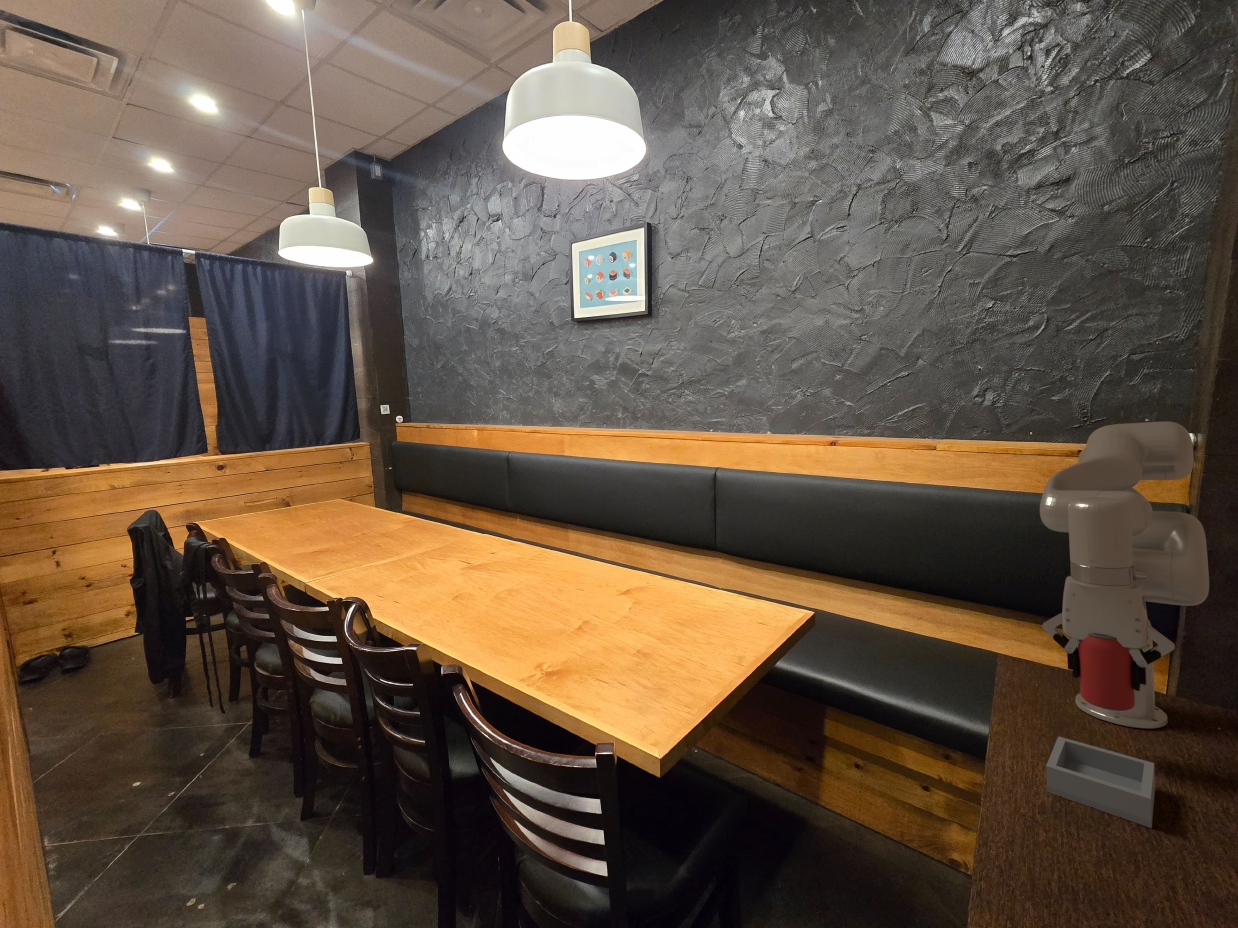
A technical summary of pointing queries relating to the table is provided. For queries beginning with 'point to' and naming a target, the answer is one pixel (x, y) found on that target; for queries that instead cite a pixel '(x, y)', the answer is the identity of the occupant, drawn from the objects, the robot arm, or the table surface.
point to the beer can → (1106, 673)
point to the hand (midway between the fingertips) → (1105, 679)
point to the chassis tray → (1102, 780)
